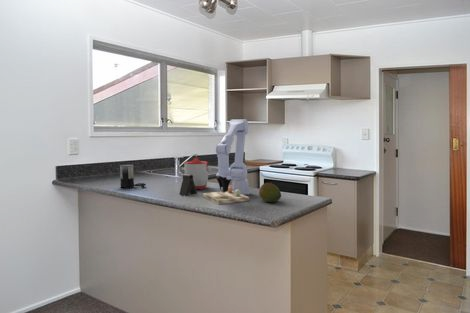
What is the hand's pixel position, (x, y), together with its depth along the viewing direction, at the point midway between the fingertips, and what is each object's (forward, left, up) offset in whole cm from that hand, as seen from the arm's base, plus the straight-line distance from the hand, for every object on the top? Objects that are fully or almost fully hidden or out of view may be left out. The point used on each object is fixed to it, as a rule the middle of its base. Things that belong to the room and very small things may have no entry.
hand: (223, 190), depth 200 cm
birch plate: (-3, -5, -6) cm, 8 cm away
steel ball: (0, 0, +1) cm, 1 cm away
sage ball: (-9, 0, -2) cm, 9 cm away
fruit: (-21, +14, -6) cm, 26 cm away
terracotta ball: (-9, -11, -2) cm, 14 cm away
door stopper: (+11, -28, -6) cm, 31 cm away
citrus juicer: (-1, -44, -6) cm, 44 cm away
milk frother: (+36, -69, -6) cm, 78 cm away
